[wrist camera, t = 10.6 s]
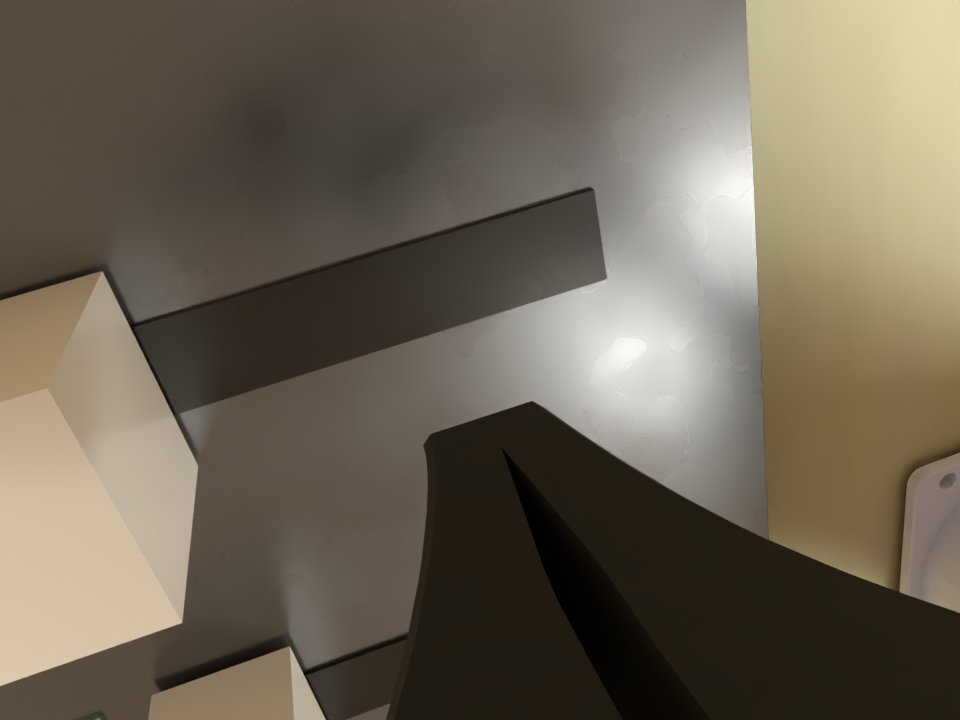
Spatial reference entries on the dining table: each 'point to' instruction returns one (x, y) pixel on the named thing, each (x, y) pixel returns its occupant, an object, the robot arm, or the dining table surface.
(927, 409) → the dining table surface
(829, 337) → the dining table surface
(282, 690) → the on breaker
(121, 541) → the breaker
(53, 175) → the breaker panel
